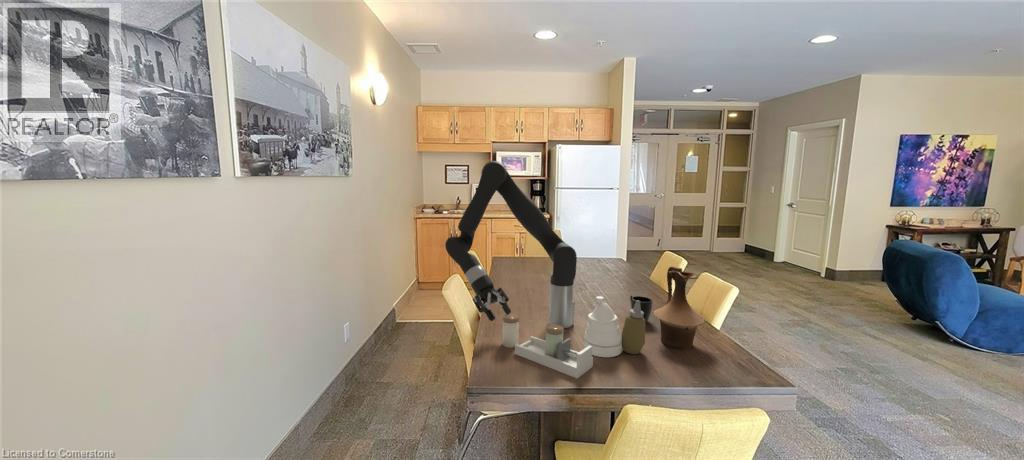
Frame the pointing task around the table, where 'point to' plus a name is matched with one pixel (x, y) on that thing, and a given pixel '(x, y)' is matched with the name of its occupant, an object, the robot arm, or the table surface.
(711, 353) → the table surface
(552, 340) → the sage jar
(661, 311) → the pitcher
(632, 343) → the squeeze bottle
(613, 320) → the honey pot
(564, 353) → the pusher
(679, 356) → the table surface
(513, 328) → the cream jar
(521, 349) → the jar lane
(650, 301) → the mug
